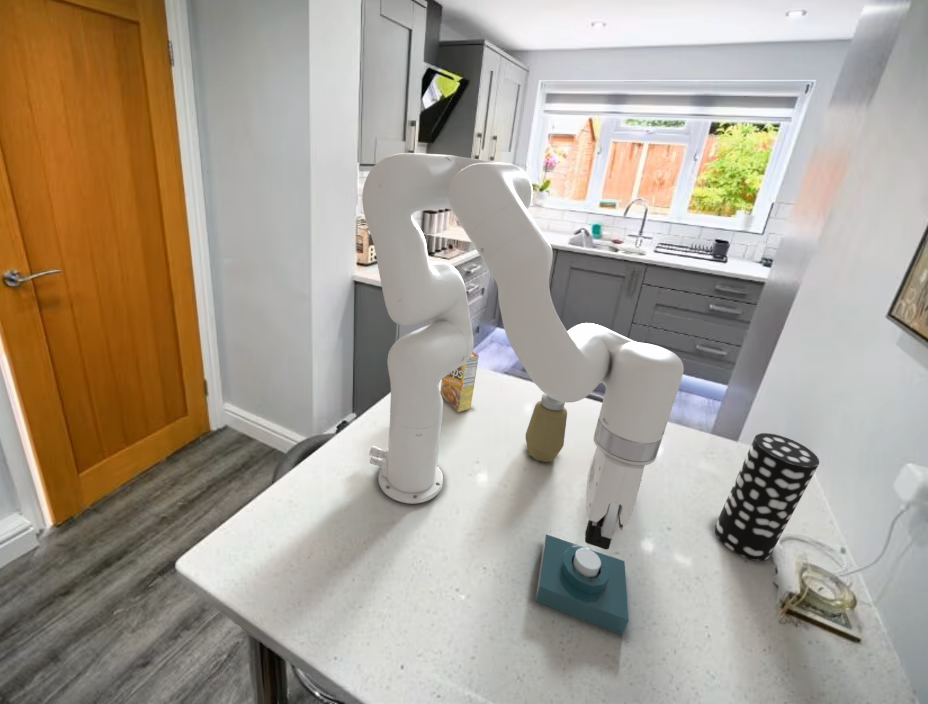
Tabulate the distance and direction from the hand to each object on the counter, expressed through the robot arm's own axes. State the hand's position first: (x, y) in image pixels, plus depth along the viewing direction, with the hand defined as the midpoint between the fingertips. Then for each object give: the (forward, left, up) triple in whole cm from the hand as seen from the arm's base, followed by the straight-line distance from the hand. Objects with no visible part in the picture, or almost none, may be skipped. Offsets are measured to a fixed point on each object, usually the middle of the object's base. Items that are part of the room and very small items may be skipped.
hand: (596, 541), depth 63 cm
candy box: (-32, +41, -10) cm, 53 cm away
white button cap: (0, 0, -5) cm, 5 cm away
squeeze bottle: (-9, +30, -10) cm, 33 cm away
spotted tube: (+27, +22, -10) cm, 36 cm away
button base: (0, 0, -10) cm, 10 cm away
